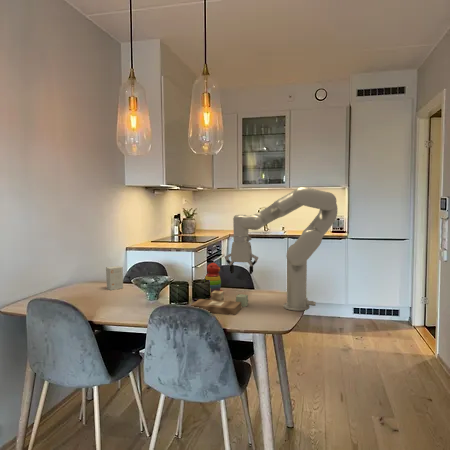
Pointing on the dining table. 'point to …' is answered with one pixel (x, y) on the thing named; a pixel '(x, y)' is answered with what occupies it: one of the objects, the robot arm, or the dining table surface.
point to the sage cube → (242, 299)
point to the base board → (218, 306)
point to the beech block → (217, 295)
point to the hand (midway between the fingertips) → (241, 273)
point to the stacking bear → (213, 277)
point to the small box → (114, 277)
